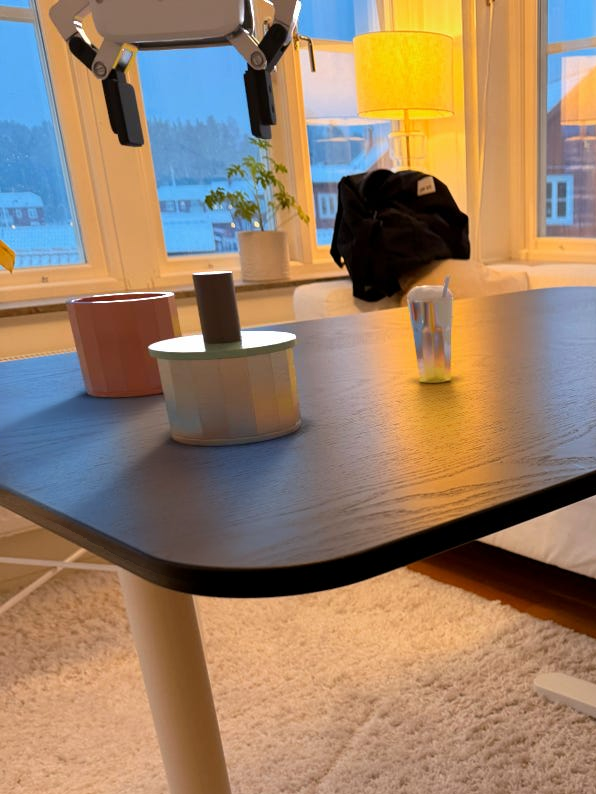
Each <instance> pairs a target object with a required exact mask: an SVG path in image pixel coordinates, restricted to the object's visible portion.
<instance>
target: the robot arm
mask: <svg viewBox="0 0 596 794" xmlns="http://www.w3.org/2000/svg"><path fill="white" fill-rule="evenodd" d="M252 1H253V0H58V1H57V2H55V4H53V5H52V6H51V7H50V8H49V10H48V16H49V17H48V18H49V19H50V21H51V22H52V24H53V26H54V27H55V28H56V30H57V31H58V33H59V35H60V36H61V38H62V39H63V41H64V42H65V43H66V44H67V46H68V49H69V51H70V53H71V54H72V55H73V56H74V57H75V58H76V59H77V60H79V61H80V63H82V64H83V65H84V66H85V67H86V68H87V69H88V70H89V71H90V72H91V73H92V74H93V76H94V77H95V78H96V79H98V80H99V81H101V86H102V92H103V96H104V101H105V107H106V111H107V115H108V121H109V124H110V129H111V131H112V133H113V134H115V135H117V139H118V142H119V144H120V146H124V147H130V148H131V147H132V148H142V147H143V145H145V139H144V133H143V128H142V122H141V117H140V112H139V106H138V101H137V96H136V90H135V87H134V85H132V83H128V82H127V74H128V72H129V70H130V68H131V66H132V64H133V62H134V60H135V58H136V56H137V54H138V52H163V51H178V50H180V51H181V50H195V49H209V48H222V47H234V49H235V50H236V51H237V52H238V54H239V55H241V57H242V58H243V59H244V61H246V68H247V70H244V73H243V76H242V77H243V85H244V90H245V92H244V93H245V98H246V105H247V112H248V119H249V126H250V133H251V135H252V136H253V137H255V138H256V139H261V140H263V141H264V140H265V141H266V140H272V138H273V134H272V128H271V126H277V113H276V112H277V111H276V105H275V104H276V103H275V97H274V90H273V89H274V87H273V82H272V74H274V72H275V71H276V66H277V65H278V63H279V61H280V60H281V58H282V57H283V56H284V54H285V52H286V51H287V49H288V48H289V46H290V45H291V43H292V35H293V31H294V30H295V28H296V25H297V20H298V17H299V13H300V11H301V7H302V1H301V0H264V1H265V2H267V3H269V4H271V5H272V6H273V8H274V15H273V20H272V23H271V26H270V27H269V28H268V29H267V30H266V33H265V34H264V36H263V37H262V39H261V40H260V42H259V41H258V40H257V39H256V38H255V36H254V35H253V34H254V30H255V20H254V10H253V2H252ZM89 14H91V17H92V21H93V25H94V28H95V30H96V32H97V34H98V35H99V36H101V37H102V38H103V40H102V41H101V44H100V46H99V48H98V47H97V46H96V45H95V44H93V43H92V42H91V41H90V39H89V38H88V36H87V35H86V32H85V31H84V29H83V26H82V21H83V20H84V19H85V18H86V17H87V16H88V15H89Z"/></svg>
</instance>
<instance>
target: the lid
mask: <svg viewBox="0 0 596 794" xmlns="http://www.w3.org/2000/svg"><path fill="white" fill-rule="evenodd" d="M191 278H192V283H193V289H194V294H195V300H196V306H197V312H198V318H199V325H200V329H201V334H196V335H189V336H182V337H180V338H174V339H169V340H164V341H160V342H157V343H154V344H152V345H150V346H149V347H148V351H149V355H150V356H151V357H154V358H158V359H165V360H213V359H227V358H238V357H247V356H255V355H262V354H268V353H273V352H278V351H282V350H286V349H289V348H292V349H293V347H295V346H296V345H297V343H298V342H297V341H298V340H297V336H296V334H293V333H289V332H282V331H269V330H267V331H265V330H264V331H263V330H262V331H261V330H259V331H258V330H256V331H255V330H254V331H253V330H252V331H242V328H241V327H242V326H241V320H240V315H239V308H238V301H237V295H236V288H235V280H234V274H233V272H232V271H230V270H228V271H227V270H225V271H221V270H220V271H204V272H195V273H192V274H191Z"/></svg>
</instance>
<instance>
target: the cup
mask: <svg viewBox="0 0 596 794" xmlns="http://www.w3.org/2000/svg"><path fill="white" fill-rule="evenodd" d="M65 307H66V311H67V316H68V320H69V323H70V324H69V325H70V328H71V333H72V337H73V342H74V345H75V351H76V354H77V358H78V359H77V360H78V362H79V363H78V364H79V367H80V370H81V375H82V380H83V384H84V388H85V390H86V394H87V395H88V396H91V397H96V398H131V397H142V396H143V397H144V396H151V395H157V394H159V395H160V394H164V393H163V388H162V383H161V378H160V373H159V368H158V362H157V358H154V357H151V356H150V355H149V351H148V347H149V346H150V345H152V344H154V343H157V342H160V341H164V340H169V339H174V338H180V337H183V334H182V329H181V323H180V318H179V313H178V307H177V301H176V296H175V294H174V293H173V292H165V291H164V292H163V291H162V292H156V291H155V292H154V291H153V292H149V291H148V292H128V293H112V294H101V295H92V296H90V295H89V296H84V297H77V298H72V299H66V301H65Z"/></svg>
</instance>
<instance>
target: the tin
mask: <svg viewBox="0 0 596 794" xmlns="http://www.w3.org/2000/svg"><path fill="white" fill-rule="evenodd" d="M157 362H158V368H159V373H160V378H161V383H162V388H163V393H162V394H163V397H164V403H165V409H166V413H167V418H168V423H169V429H170V432H171V439H173V440H174V441H175V442H176V443H180V444H183V445H190V446H199V447H220V446H221V447H223V446H237V445H238V446H239V445H247V444H253V443H260V442H265V441H271V440H274V439H275V440H276V439H278V438H282V437H285V436H288V435H290V434H293V433H294V432H297V431H298V430H299V429H300V428H301V426H302V422H301V420H302V414H301V405H300V397H299V391H298V383H297V376H296V365H295V359H294V350H293V347H292V348H289V349H286V350H282V351H278V352H273V353H268V354H262V355H255V356H247V357H238V358H227V359H213V360H165V359H158V358H157Z"/></svg>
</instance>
